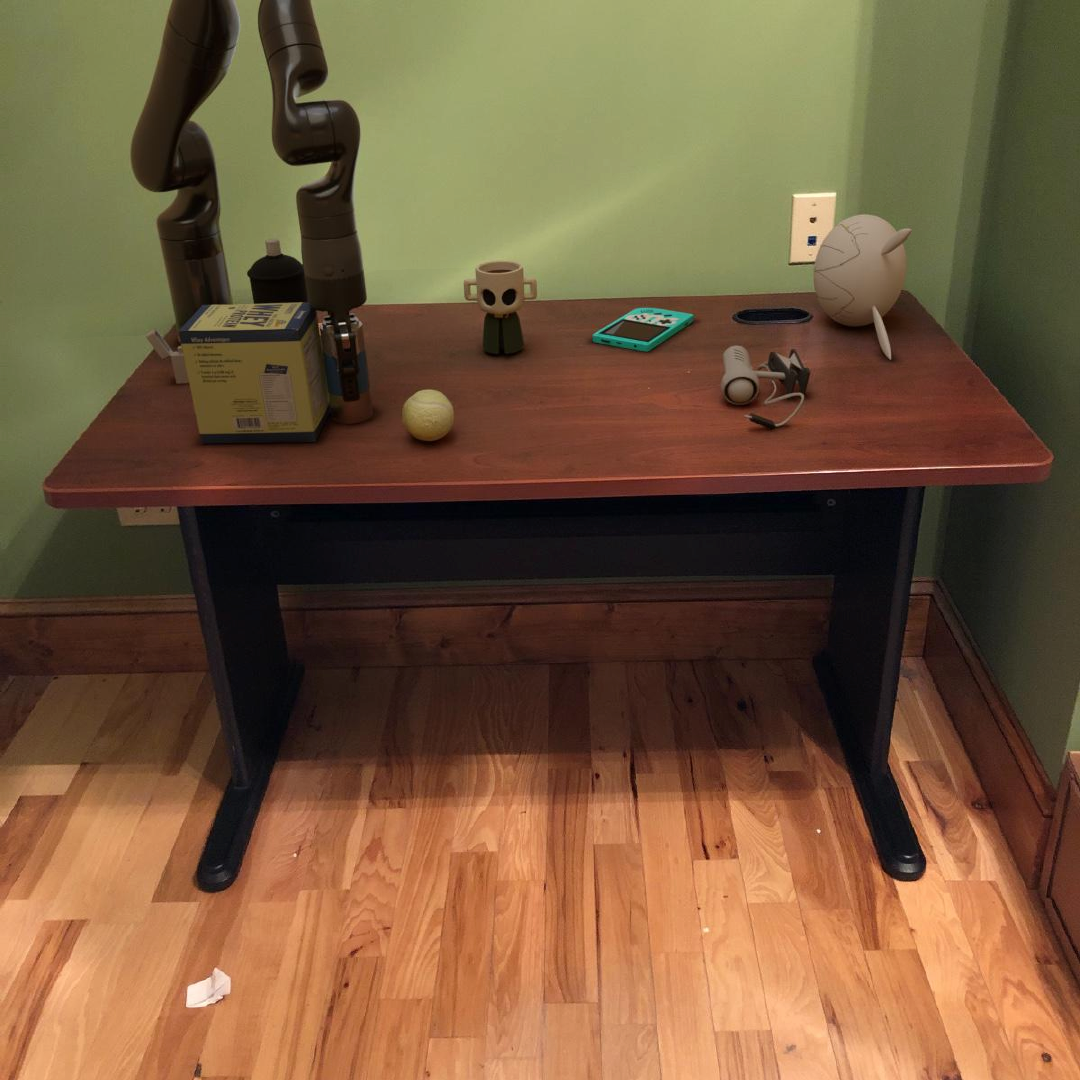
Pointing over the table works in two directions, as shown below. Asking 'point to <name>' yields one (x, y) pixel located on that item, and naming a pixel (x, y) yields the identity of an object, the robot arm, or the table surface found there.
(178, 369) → the lighter
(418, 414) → the tennis ball
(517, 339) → the character mug
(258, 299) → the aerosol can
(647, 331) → the handheld game console
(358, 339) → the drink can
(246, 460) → the table surface
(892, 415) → the table surface
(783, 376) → the clip-on lamp
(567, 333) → the table surface
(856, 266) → the beige egg-shaped piece
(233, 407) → the protein box
